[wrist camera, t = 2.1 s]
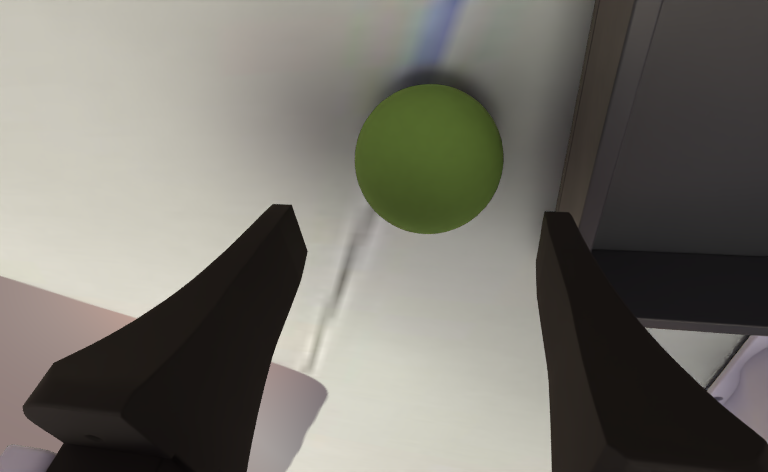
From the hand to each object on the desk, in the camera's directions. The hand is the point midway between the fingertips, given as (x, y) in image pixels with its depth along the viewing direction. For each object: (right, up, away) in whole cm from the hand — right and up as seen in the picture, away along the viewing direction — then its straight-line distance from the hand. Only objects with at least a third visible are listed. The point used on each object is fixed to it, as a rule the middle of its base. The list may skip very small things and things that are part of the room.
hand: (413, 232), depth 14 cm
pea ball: (+1, +4, +4) cm, 6 cm away
